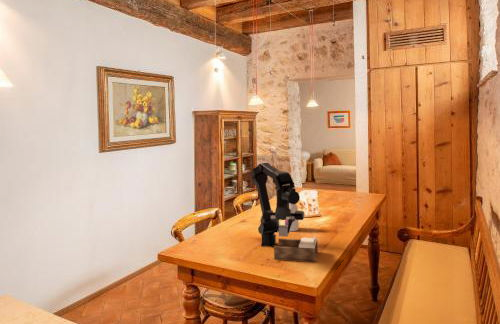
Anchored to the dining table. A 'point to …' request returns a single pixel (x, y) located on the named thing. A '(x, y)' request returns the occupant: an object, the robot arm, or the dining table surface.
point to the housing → (294, 251)
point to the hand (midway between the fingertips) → (283, 232)
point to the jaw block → (283, 230)
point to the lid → (308, 242)
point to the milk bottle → (295, 223)
